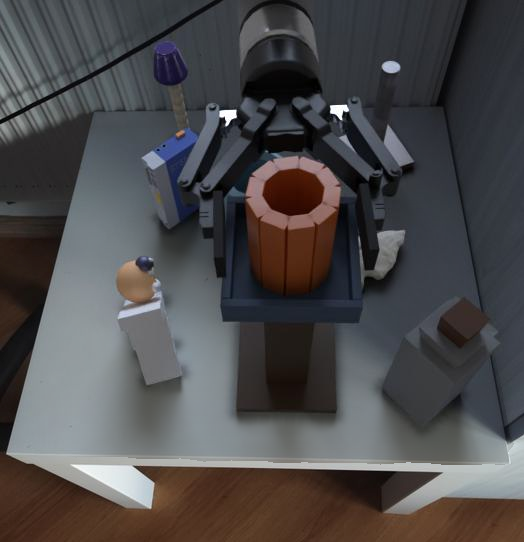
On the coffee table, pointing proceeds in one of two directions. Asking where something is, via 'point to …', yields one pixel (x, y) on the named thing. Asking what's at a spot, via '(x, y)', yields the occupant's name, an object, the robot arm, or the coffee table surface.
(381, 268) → the decorative stone
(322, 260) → the sleeve
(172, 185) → the walkman
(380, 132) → the stake stand
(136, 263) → the figurine
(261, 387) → the tray
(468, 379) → the perfume bottle
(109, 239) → the coffee table surface
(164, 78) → the toy lamp
